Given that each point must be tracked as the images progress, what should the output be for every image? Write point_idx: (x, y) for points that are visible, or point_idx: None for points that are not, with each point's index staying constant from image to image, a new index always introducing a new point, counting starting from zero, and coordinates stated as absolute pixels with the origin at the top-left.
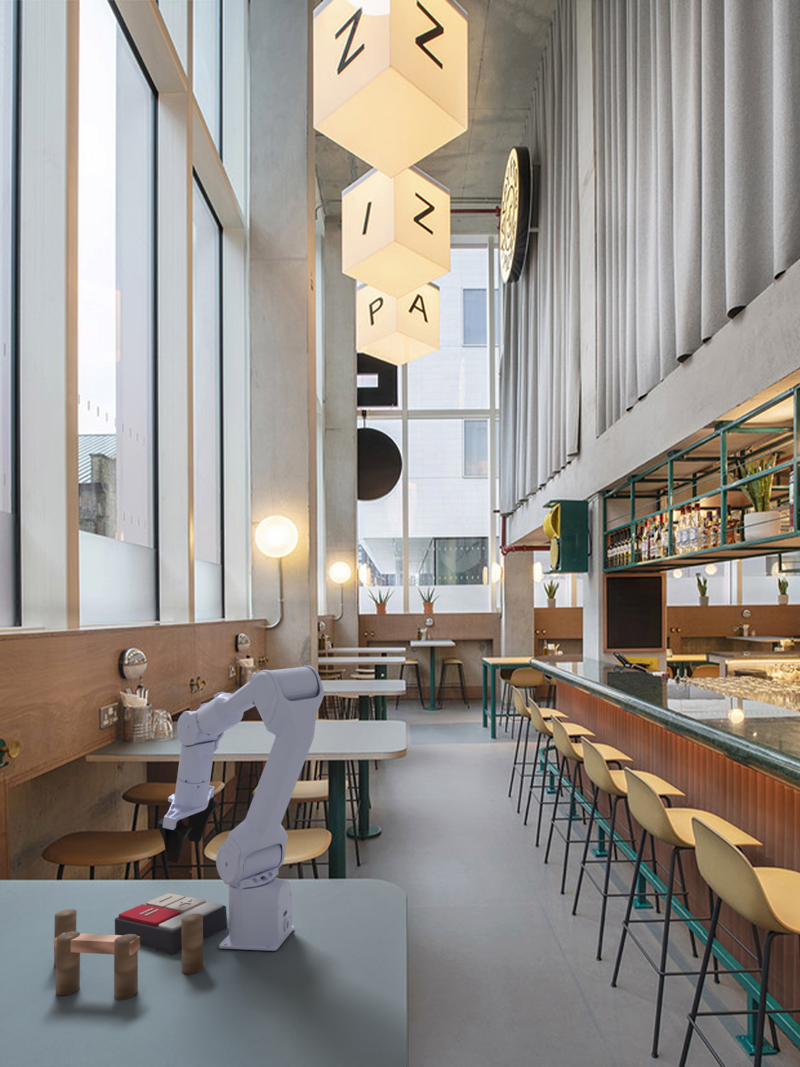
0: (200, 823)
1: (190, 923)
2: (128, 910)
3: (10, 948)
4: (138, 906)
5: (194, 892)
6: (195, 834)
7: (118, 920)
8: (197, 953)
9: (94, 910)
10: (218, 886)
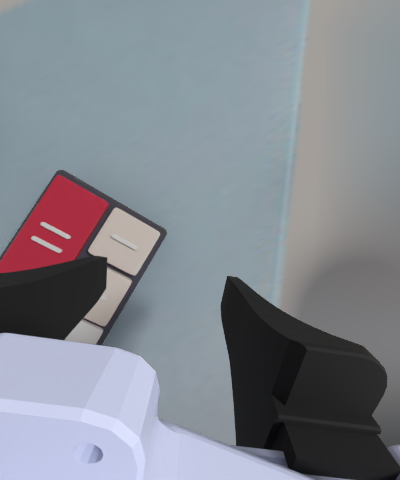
0: (235, 349)
1: None
2: (74, 187)
3: (21, 6)
4: (94, 200)
5: (236, 246)
6: (226, 307)
7: (51, 180)
8: None
9: (175, 99)
10: (256, 276)
